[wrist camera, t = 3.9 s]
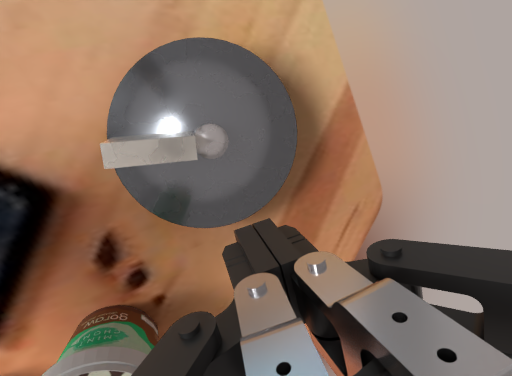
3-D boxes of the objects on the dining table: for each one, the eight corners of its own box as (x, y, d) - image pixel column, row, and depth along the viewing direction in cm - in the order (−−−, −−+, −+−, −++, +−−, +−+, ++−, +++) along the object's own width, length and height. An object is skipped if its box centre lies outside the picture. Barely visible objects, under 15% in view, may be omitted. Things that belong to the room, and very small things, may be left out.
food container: (150, 279, 35) (142, 341, 26) (169, 322, 37) (168, 394, 28) (37, 322, 33) (-16, 405, 24) (63, 364, 35) (23, 457, 26)
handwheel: (288, 40, 29) (319, 21, 23) (293, 210, 34) (320, 232, 28) (93, 42, 26) (67, 21, 19) (127, 234, 30) (116, 267, 24)
